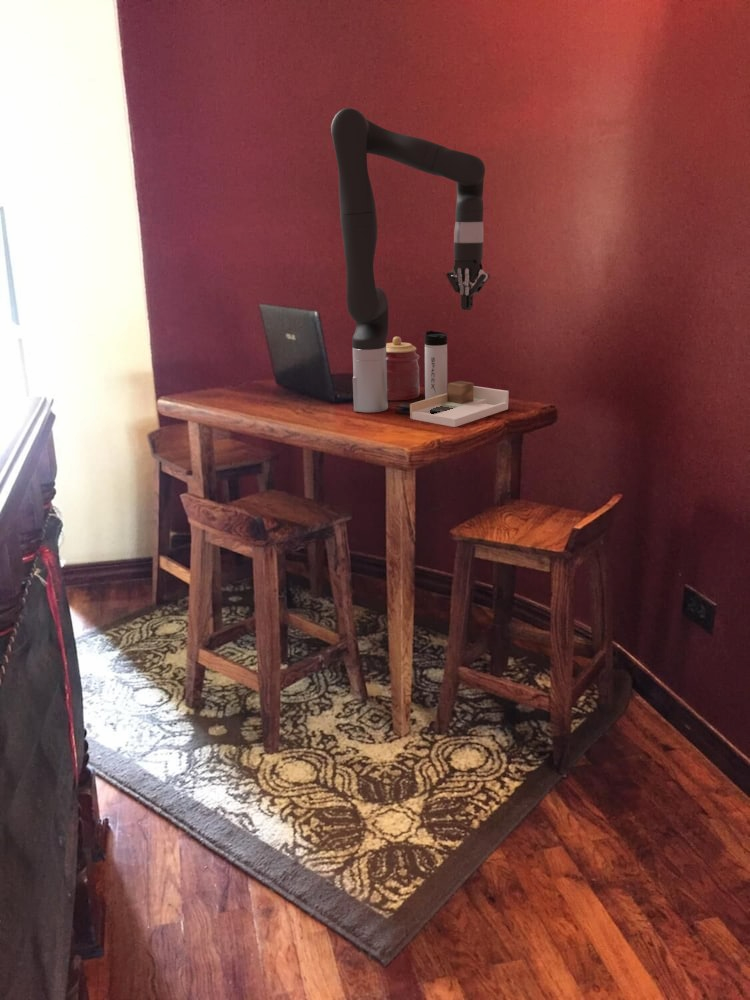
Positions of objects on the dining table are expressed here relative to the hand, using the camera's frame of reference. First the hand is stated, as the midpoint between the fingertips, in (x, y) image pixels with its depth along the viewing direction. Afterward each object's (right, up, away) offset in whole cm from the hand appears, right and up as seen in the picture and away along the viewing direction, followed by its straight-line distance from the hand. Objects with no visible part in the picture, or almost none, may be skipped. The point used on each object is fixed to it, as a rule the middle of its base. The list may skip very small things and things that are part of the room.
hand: (466, 309), depth 206 cm
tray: (-1, -27, +3) cm, 27 cm away
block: (-1, -23, +8) cm, 25 cm away
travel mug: (-7, -23, +16) cm, 29 cm away
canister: (-17, -20, +25) cm, 37 cm away
